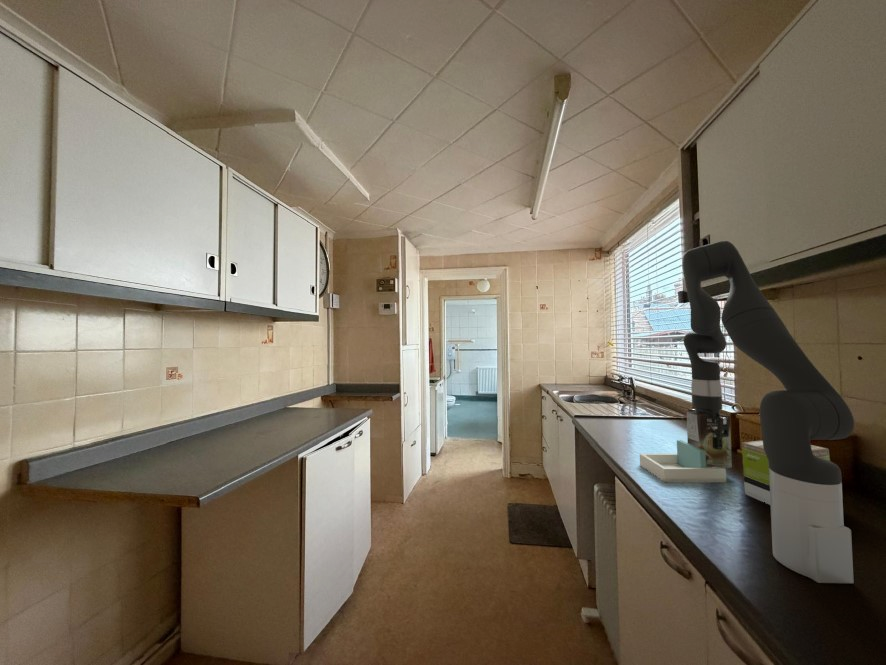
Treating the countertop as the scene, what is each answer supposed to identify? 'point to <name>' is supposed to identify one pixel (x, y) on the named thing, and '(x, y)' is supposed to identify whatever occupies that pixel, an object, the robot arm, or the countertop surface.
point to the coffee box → (708, 439)
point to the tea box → (763, 469)
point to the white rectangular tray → (679, 469)
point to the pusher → (690, 455)
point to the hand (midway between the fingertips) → (708, 445)
